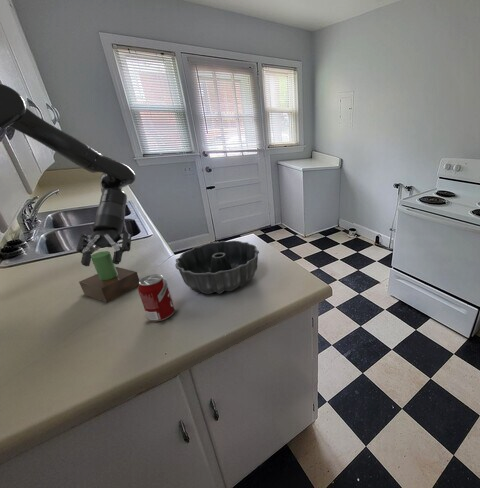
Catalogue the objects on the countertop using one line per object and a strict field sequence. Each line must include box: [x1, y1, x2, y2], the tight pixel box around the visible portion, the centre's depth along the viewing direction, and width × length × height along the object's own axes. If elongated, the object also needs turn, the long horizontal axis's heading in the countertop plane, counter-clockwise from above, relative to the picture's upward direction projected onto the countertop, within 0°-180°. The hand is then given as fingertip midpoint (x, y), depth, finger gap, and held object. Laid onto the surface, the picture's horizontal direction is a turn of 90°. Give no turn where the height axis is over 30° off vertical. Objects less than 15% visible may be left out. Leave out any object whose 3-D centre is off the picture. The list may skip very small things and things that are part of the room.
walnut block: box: [78, 266, 140, 303], centre depth 89 cm, size 11×11×5 cm
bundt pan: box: [174, 240, 260, 295], centre depth 93 cm, size 26×26×10 cm
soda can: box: [137, 273, 175, 322], centre depth 75 cm, size 7×7×12 cm
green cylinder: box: [91, 250, 118, 280], centre depth 86 cm, size 5×5×8 cm
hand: (100, 264), depth 84 cm, fingers open, 8 cm apart
